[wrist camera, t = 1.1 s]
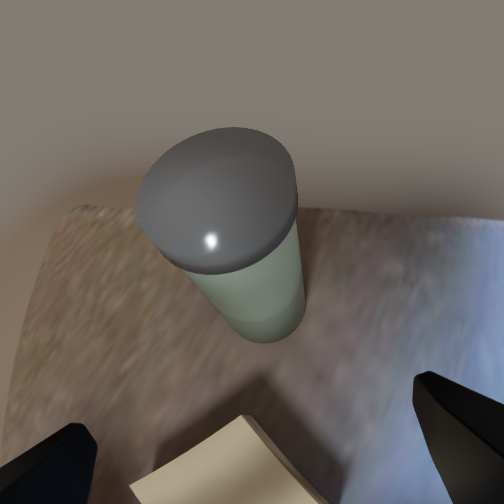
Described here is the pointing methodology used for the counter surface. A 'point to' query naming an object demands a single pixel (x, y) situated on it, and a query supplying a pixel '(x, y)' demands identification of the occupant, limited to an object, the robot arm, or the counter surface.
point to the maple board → (229, 472)
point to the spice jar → (231, 226)
